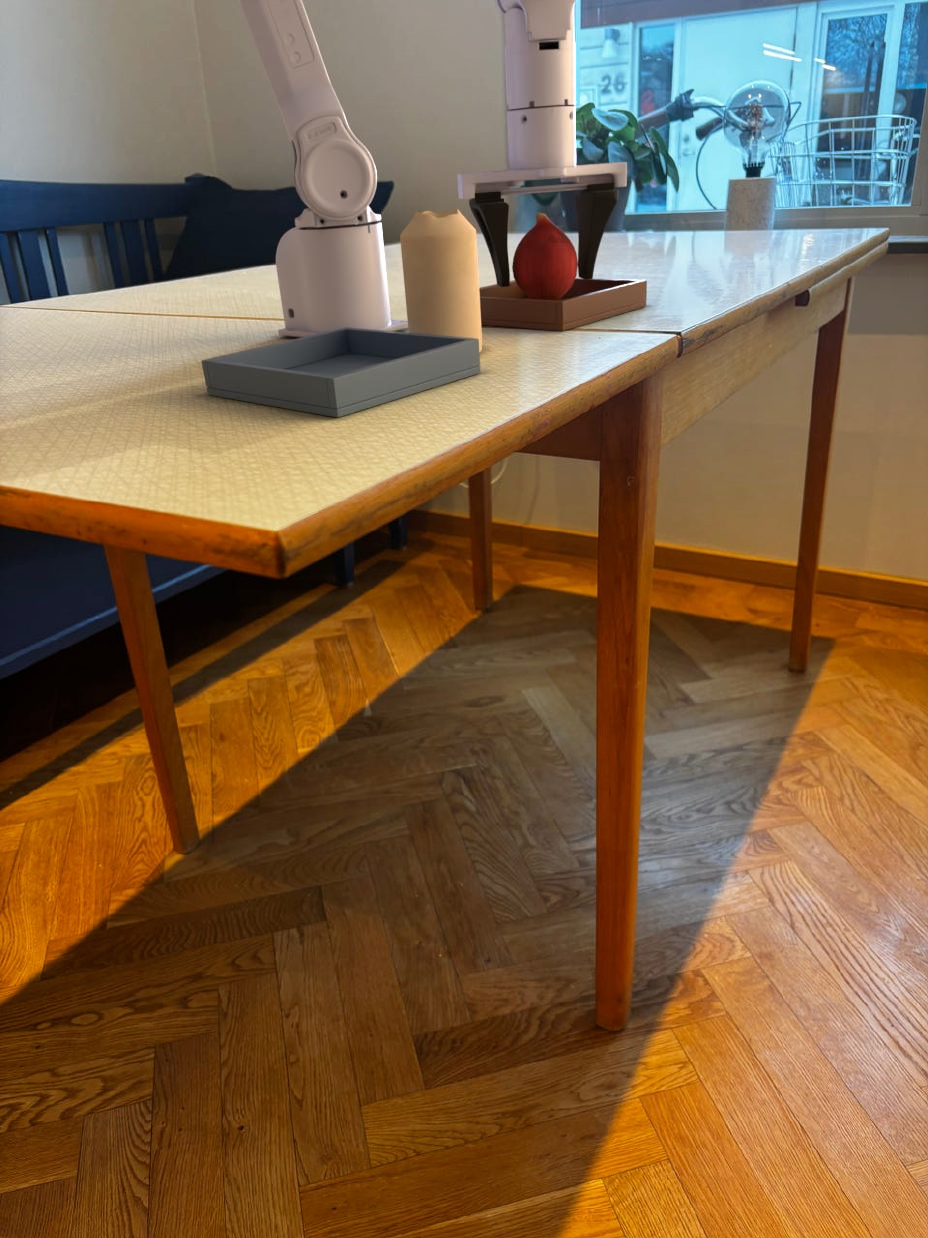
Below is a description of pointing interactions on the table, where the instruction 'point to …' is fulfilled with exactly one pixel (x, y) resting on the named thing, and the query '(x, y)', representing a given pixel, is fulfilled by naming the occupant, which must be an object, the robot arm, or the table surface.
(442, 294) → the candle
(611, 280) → the walnut tray
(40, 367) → the table surface
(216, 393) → the gray tray
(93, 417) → the table surface
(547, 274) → the onion
